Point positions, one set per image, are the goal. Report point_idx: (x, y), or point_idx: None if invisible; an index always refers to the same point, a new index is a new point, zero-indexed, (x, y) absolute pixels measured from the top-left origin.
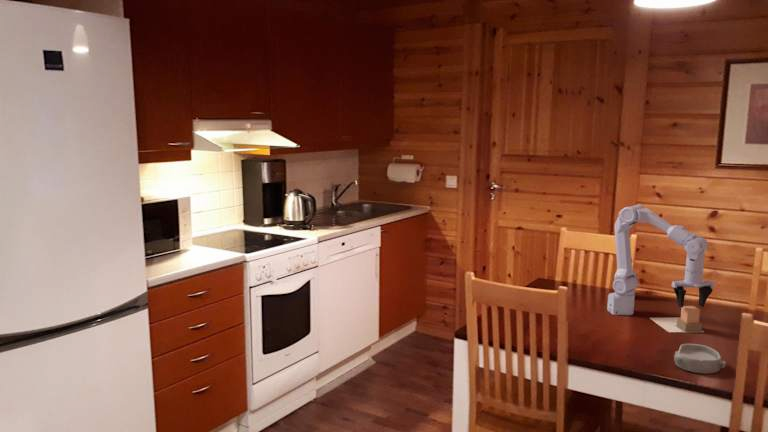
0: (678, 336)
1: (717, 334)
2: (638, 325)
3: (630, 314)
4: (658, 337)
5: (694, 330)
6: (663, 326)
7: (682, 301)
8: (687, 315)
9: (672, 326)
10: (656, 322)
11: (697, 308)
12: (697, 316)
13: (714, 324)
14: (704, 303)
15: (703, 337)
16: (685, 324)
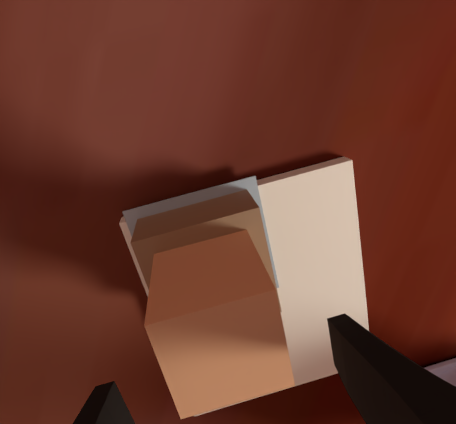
0: (292, 141)
1: (33, 236)
2: (448, 268)
3: (448, 378)
4: (421, 95)
5: (186, 208)
6: (347, 253)
7: (384, 355)
8: (260, 259)
9: (294, 267)
10: (361, 307)
11: (160, 361)
12: (167, 278)
13: (28, 390)
14: (77, 422)
15: (136, 158)
16: (259, 210)
